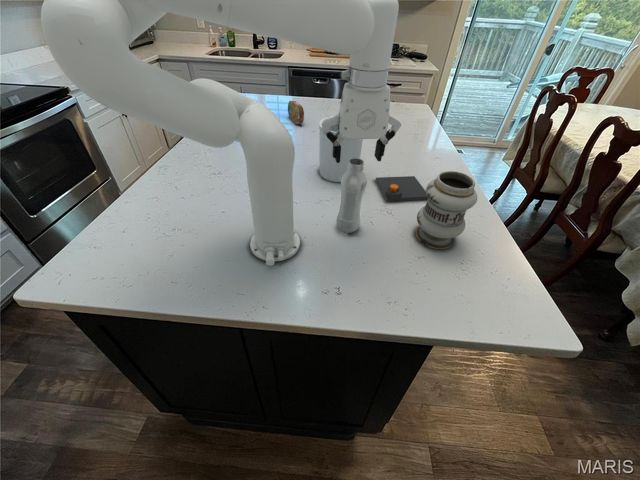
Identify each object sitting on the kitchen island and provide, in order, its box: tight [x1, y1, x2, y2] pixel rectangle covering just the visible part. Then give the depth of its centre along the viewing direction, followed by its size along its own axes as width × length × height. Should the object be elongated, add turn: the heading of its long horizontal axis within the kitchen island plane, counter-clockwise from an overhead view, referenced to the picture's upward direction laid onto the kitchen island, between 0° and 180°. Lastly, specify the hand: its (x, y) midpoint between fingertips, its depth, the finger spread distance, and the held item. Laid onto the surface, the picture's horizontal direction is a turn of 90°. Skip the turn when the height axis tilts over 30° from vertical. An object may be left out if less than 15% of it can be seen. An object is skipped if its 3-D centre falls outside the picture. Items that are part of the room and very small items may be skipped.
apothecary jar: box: [415, 170, 478, 250], centre depth 74 cm, size 12×12×18 cm
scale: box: [374, 175, 428, 203], centre depth 97 cm, size 13×14×3 cm
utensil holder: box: [318, 115, 364, 183], centre depth 99 cm, size 15×15×18 cm
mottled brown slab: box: [287, 100, 305, 125], centre depth 138 cm, size 15×3×8 cm, turn 25°
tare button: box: [389, 184, 398, 192], centre depth 92 cm, size 3×3×2 cm
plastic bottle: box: [336, 158, 368, 234], centre depth 75 cm, size 6×7×20 cm
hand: (357, 159), depth 68 cm, fingers open, 9 cm apart
